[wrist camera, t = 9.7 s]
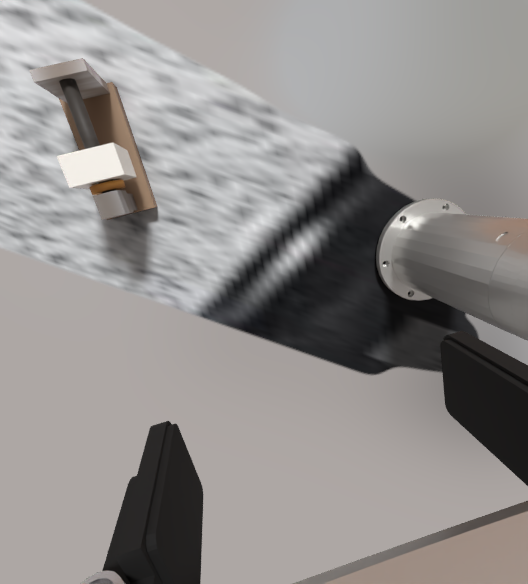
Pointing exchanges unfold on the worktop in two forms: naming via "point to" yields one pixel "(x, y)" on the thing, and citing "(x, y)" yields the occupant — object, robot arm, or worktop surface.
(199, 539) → the robot arm
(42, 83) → the wooden stand
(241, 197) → the worktop surface
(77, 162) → the sleeve
